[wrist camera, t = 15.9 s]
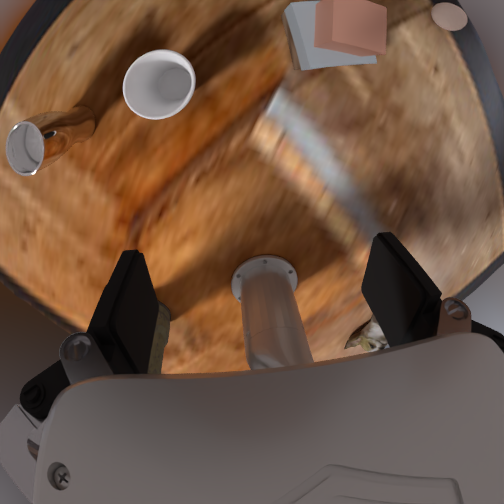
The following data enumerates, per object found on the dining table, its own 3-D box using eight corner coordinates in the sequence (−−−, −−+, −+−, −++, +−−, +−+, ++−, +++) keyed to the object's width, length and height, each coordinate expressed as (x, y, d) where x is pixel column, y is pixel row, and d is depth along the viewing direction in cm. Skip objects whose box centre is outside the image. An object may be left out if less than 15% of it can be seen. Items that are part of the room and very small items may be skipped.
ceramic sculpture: (413, 332, 56) (379, 366, 64) (400, 305, 63) (370, 341, 71) (382, 330, 53) (347, 367, 62) (369, 302, 60) (339, 340, 69)
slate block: (363, 63, 29) (377, 63, 26) (301, 70, 30) (310, 69, 26) (347, 6, 24) (360, 0, 21) (284, 10, 25) (291, 2, 21)
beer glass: (71, 97, 31) (11, 112, 18) (105, 111, 33) (52, 130, 21) (57, 136, 34) (0, 166, 21) (89, 151, 36) (38, 186, 24)
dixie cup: (192, 116, 36) (181, 127, 27) (141, 103, 34) (114, 111, 24) (211, 66, 32) (206, 58, 23) (158, 53, 30) (135, 43, 21)
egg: (424, -1, 24) (453, -6, 17) (446, 14, 25) (475, 12, 18) (422, 22, 27) (452, 19, 20) (445, 36, 28) (474, 36, 21)
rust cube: (360, 56, 25) (385, 54, 20) (313, 47, 25) (332, 40, 20) (362, 15, 22) (386, 7, 17) (315, 4, 21) (333, -9, 16)
